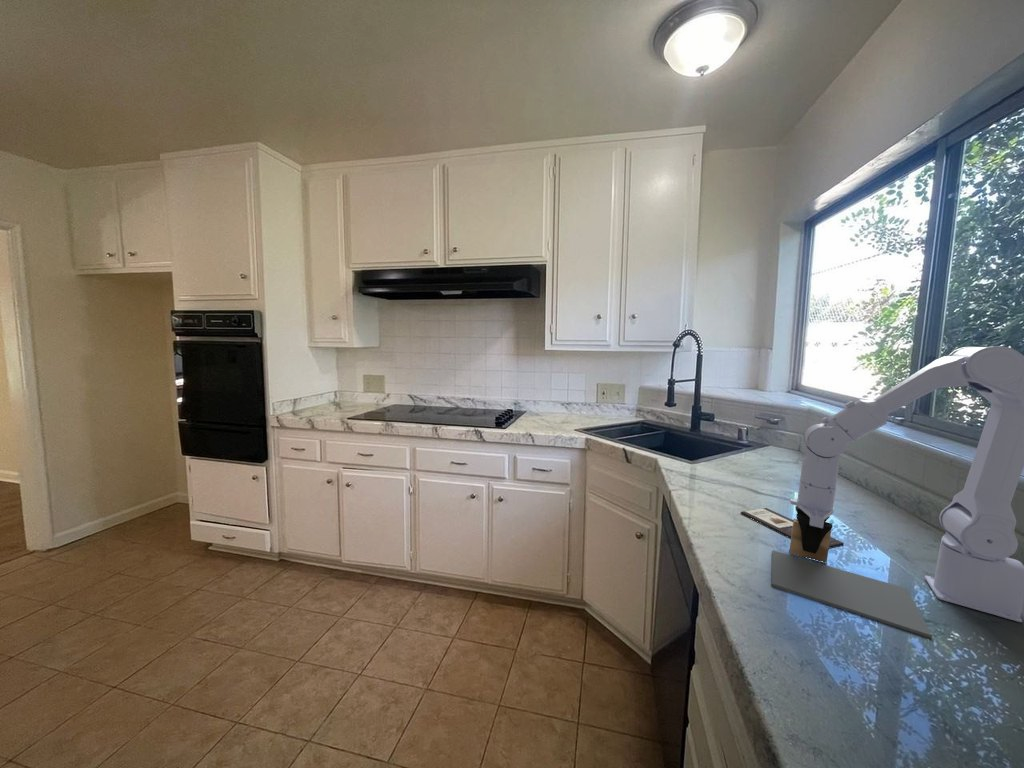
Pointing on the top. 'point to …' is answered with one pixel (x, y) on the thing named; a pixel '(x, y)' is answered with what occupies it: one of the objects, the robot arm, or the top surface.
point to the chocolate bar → (778, 522)
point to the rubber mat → (848, 592)
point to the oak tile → (798, 550)
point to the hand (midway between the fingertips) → (808, 547)
